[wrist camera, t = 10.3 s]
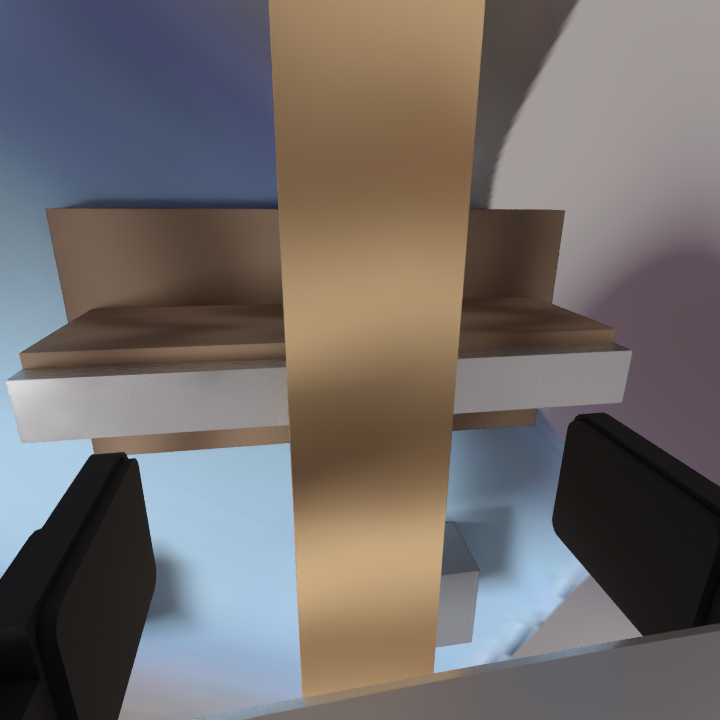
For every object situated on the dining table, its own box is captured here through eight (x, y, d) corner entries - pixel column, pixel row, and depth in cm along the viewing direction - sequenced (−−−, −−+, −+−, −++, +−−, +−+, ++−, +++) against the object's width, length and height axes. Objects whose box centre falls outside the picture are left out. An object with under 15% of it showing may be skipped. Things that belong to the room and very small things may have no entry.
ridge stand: (105, 441, 23) (18, 567, 16) (61, 207, 20) (-81, 216, 12) (520, 412, 27) (623, 503, 19) (547, 209, 23) (687, 217, 15)
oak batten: (262, -124, 11) (255, -290, 7) (430, -105, 11) (504, -249, 8) (301, 689, 19) (307, 807, 16) (397, 674, 20) (424, 784, 16)
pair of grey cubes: (55, 636, 27) (20, 709, 23) (36, 565, 25) (-6, 630, 21) (447, 587, 30) (471, 642, 27) (453, 521, 29) (479, 570, 25)
